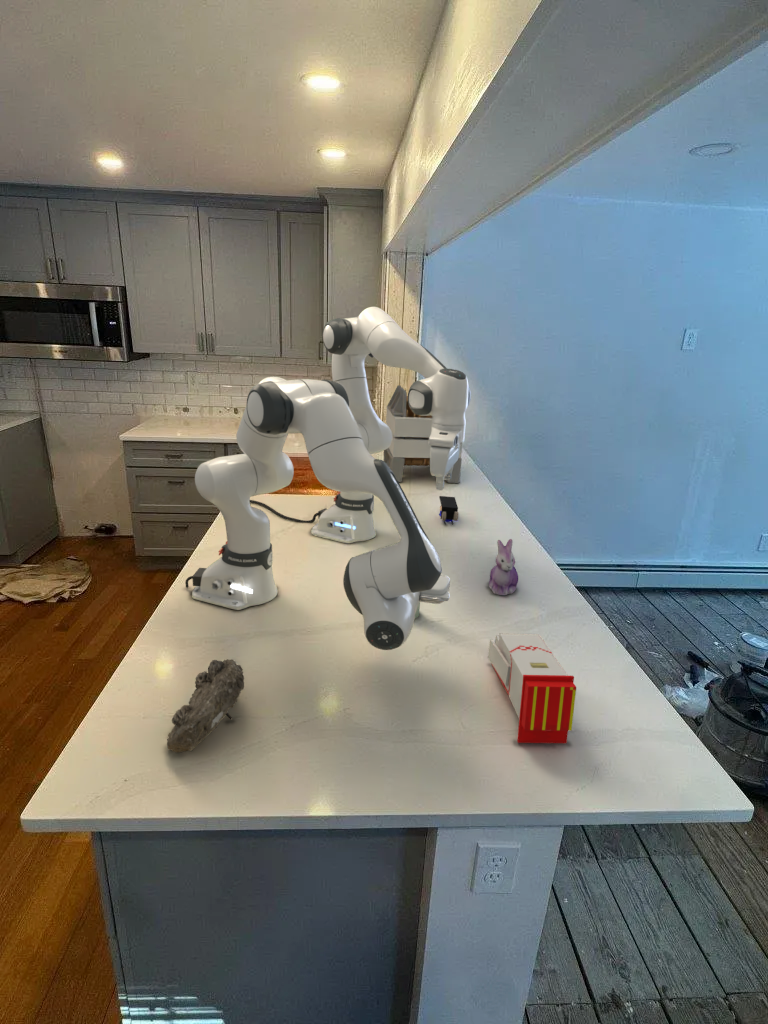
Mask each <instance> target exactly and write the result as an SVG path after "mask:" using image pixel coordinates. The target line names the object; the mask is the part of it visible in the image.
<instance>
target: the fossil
mask: <svg viewBox="0 0 768 1024" xmlns="http://www.w3.org/2000/svg"><path fill="white" fill-rule="evenodd" d="M243 670H244V669H243V667H242V665H240V664H237V662H236V661H235V660H234V659H232V658H231V659H227V658H226V659H224V660H223V661H222V660H217V659H212V660H211V661H210V663H209V665H208V666H207V671H201V672H199V673H198V674H197V675H196V676H195V680H194V684H195V685H194V687H195V689H194V690H193V693H192V694H191V697H190V698H189V700H188V704H184V705H182V706H181V707H180V709H177V710H176V711H175V713H174V715H173V716H172V718H171V723H172V724H173V727H172V730H171V731H170V732H168V734H167V738H166V741H167V742H166V745H167V749H168V750H169V751H173V752H174V753H176V754H178V753H182V752H188V751H189V752H192V751H193V750H195V748H196V747H197V746H199V744H200V743H201V742H203V741H204V740H205V739H206V738H207V737H208V736H209V735H210V734H211V733H212V732H214V730H215V729H217V727H218V726H219V724H220V722H221V721H222V720H223V719H224V718H225V716H226V717H227V719H229V720H233V717H232V715H230V714H229V710H230V709H231V708H234V706H235V704H236V703H237V702H238V699H239V697H240V695H241V693H242V691H243V690H245V689H244V688H245V675H244V671H243Z"/></svg>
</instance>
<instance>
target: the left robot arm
mask: <svg viewBox="0 0 768 1024" xmlns="http://www.w3.org/2000/svg"><path fill="white" fill-rule="evenodd" d="M246 397H247V398H246V405H245V408H244V410H243V414H242V417H241V419H240V422H239V426H238V428H237V431H236V434H235V435H236V436H235V437H236V438H235V439H236V443H237V445H238V448H239V449H240V451H241V452H242V453H238V454H231V455H224V456H217V457H215V458H212V459H209V460H207V461H204V462H201V463H200V464H199V465H198V466H197V469H196V470H195V475H194V485H195V488H196V491H197V492H198V494H199V495H200V496H201V497H202V498H203V499H204V500H205V501H207V502H209V503H211V505H214V506H215V507H216V508H217V509H218V510H219V512H220V513H221V516H222V517H223V520H224V524H225V525H224V526H225V532H226V541H225V544H223V545H222V546H221V548H220V549H219V550H218V556H221V557H219V558H218V559H217V560H215V561H214V562H212V563H211V564H210V565H208V566H207V567H198V569H197V570H196V571H195V573H194V574H193V575H190V576H188V577H187V578H186V579H185V583H184V584H185V588H187V589H188V588H189V581H190V580H192V586H193V587H194V588H193V589H192V593H191V597H192V599H193V600H196V601H201V602H205V603H208V604H211V605H212V604H213V605H216V606H220V607H222V608H223V607H224V608H228V609H232V610H235V611H240V610H243V609H246V608H248V607H253V606H258V605H262V604H266V603H268V602H271V601H272V600H273V599H275V598H276V597H277V595H278V593H279V590H278V587H277V584H276V581H275V577H274V572H273V562H274V556H273V555H274V553H273V545H272V543H271V521H270V518H269V516H268V514H267V513H266V512H264V511H263V510H261V509H260V508H257V507H254V506H251V502H250V500H251V497H256V496H260V495H266V494H271V493H275V492H278V491H280V490H282V489H285V488H286V487H288V486H290V485H291V483H292V481H293V478H294V474H295V470H294V463H293V462H292V460H291V458H290V457H289V455H288V454H287V453H285V452H284V451H283V450H284V446H285V443H286V442H287V441H286V440H287V439H288V435H291V434H292V435H293V434H294V435H297V434H301V435H302V437H303V440H304V445H305V448H306V453H307V456H308V459H309V463H310V466H311V469H312V471H313V474H314V476H315V479H316V480H317V481H318V482H319V483H320V484H321V485H322V486H324V487H326V488H327V489H329V490H331V491H335V492H348V493H367V494H372V495H373V496H374V497H376V498H378V499H379V500H380V501H381V502H382V504H383V506H384V508H385V509H386V512H387V514H388V516H389V517H390V520H391V521H392V524H393V525H394V527H395V530H396V531H397V534H398V535H399V541H398V542H396V543H393V544H390V545H386V546H384V547H380V548H377V549H373V550H369V551H367V552H364V553H361V554H358V555H354V556H351V558H350V559H349V560H348V561H347V564H346V566H345V570H344V573H343V577H342V579H343V590H344V593H345V595H346V597H347V600H348V601H349V603H350V604H351V606H352V607H353V608H354V609H355V610H356V611H357V613H359V614H360V615H361V616H362V620H363V631H364V636H365V639H366V641H367V642H368V643H369V644H370V645H371V646H372V647H374V648H376V649H378V650H383V651H390V650H394V649H397V648H400V647H401V646H403V645H404V644H405V643H406V641H407V640H408V639H409V636H410V634H411V633H412V630H413V626H414V623H415V619H416V618H415V613H416V611H417V608H418V604H419V602H420V603H427V604H435V605H436V604H437V605H439V604H442V603H444V602H448V601H449V600H450V596H451V594H450V586H451V578H450V576H448V575H446V574H442V573H443V567H442V562H441V558H440V555H439V553H438V551H437V549H436V548H435V546H434V545H433V543H432V542H431V540H430V538H429V537H428V535H427V534H426V532H425V530H424V528H423V527H422V524H421V523H420V520H419V519H418V517H417V514H416V513H415V511H414V509H413V507H412V505H411V503H410V500H409V499H408V497H407V496H406V493H405V491H404V490H403V488H402V486H401V484H400V482H398V481H397V479H396V477H395V475H394V474H393V472H392V470H391V469H390V467H389V466H388V465H387V464H386V463H385V462H384V459H378V458H375V457H374V456H372V454H370V453H369V452H368V451H367V449H366V447H365V445H364V443H363V440H362V437H361V434H360V431H359V428H358V425H357V423H356V421H355V418H354V416H353V414H352V412H351V410H350V408H349V399H348V395H347V393H346V391H345V389H344V387H343V386H342V385H341V384H339V383H337V382H335V381H333V380H330V379H311V378H296V379H285V378H283V377H279V376H267V377H265V378H262V379H261V380H260V381H259V382H258V383H257V384H255V385H254V386H252V388H251V389H250V391H248V395H247V396H246Z"/></svg>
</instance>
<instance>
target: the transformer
mask: <svg viewBox="0 0 768 1024" xmlns="http://www.w3.org/2000/svg"><path fill="white" fill-rule="evenodd" d="M385 414H386V415H385V424H387V425H388V426H389V428H390V430H391V433H392V442H391V445H390V446H389V448H387V449H386V450H384V451H383V461H384V462H385V463H386V464H387V465H388V466H389V468H390V469H391V470H392V472H393V474H394V475H395V477H396V479H397V481H398V482H399V483H402V482H403V475H404V469H405V466H406V467H407V466H411V467H412V466H413V467H415V466H416V467H417V466H418V467H430V448H431V445H429V437H430V434H431V427H432V416H431V415H430V416H421V415H416V414H415V413H414V412H413V411H412V410H411V409H410V407H409V404H408V393H407V390H406V389H404V388H403V387H402V385H399V384H398V385H397V386H396V388H395V390H394V392H393V394H392V395H391V398H390V400H389V402H388V404H387V405H386V413H385ZM463 443H464V442H462V443H460V446H459V458H458V460H457V462H456V463H455V464H454V465H453V470H452V475H451V479H450V480H449V481H448V480H445V481H446V482H447V483H449V484H455V483H456V484H459V483H461V472H462V461H463V460H462V453H463Z"/></svg>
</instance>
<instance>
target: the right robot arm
mask: <svg viewBox="0 0 768 1024" xmlns="http://www.w3.org/2000/svg"><path fill="white" fill-rule="evenodd" d="M322 342H323V346H324V348H325V349H326V351H327V352H329V353H330V354H331V378H332V381H335V382H337V383H339V384H341V385H342V386H343V387H344V389H345V391H346V393H347V395H348V399H349V408H350V410H351V412H352V414H353V416H354V418H355V421H356V423H357V425H358V428H359V431H360V434H361V437H362V440H363V443H364V445H365V447H366V449H367V451H368V452H369V453H370V454H371V455H375V454H379V453H381V452H384V450H386V449H387V448H389V446H390V445H391V442H392V433H391V430H390V428H389V426H388V425H387V423H386V422H384V421H382V419H381V418H380V417H379V416H378V414H377V413H376V410H375V409H374V407H373V404H372V402H371V398H370V391H369V385H368V380H367V379H368V378H367V373H366V368H365V367H366V366H365V360H366V358H367V356H369V357H370V358H374V359H375V360H376V361H377V362H378V363H380V364H382V365H384V366H386V367H390V368H391V367H392V368H398V369H404V370H409V371H413V372H416V373H418V374H420V375H421V376H423V378H422V379H418V380H415V381H413V382H412V384H411V385H410V386H409V389H408V393H407V396H408V404H409V407H410V409H411V410H412V411H413V412H414V413H415V414H416V415H421V416H430V415H431V416H432V427H431V434H430V437H429V445H431V448H430V466H429V472H430V476H432V477H435V483H436V485H435V488H436V490H437V491H443V490H444V488H445V481H446V480H448V481H449V480H450V479H451V475H452V470H453V465H454V464H455V463H456V462H457V460H458V458H459V446H460V443H462V442H463V443H464V442H465V439H466V438H465V437H466V427H467V420H466V412H467V409H468V407H469V406H470V403H471V401H472V392H471V388H470V385H469V380H468V376H467V374H466V373H464V372H463V371H462V370H459V369H453V368H448V367H446V366H445V364H444V363H442V362H441V361H440V360H439V359H438V358H437V357H436V356H435V355H434V354H433V353H431V351H430V350H429V349H427V348H426V347H424V346H423V345H421V344H420V343H418V341H416V340H415V339H414V338H412V337H411V336H410V335H409V334H408V333H406V331H404V329H402V328H401V326H400V325H399V324H398V323H397V322H396V321H395V319H394V318H392V316H391V315H390V314H388V313H387V312H386V311H384V309H382V308H380V307H378V306H369V307H367V308H365V309H363V310H362V311H361V312H360V313H359V314H358V316H355V317H346V318H344V317H343V318H340V317H337V318H333V319H331V320H328V321H327V322H326V323H325V325H324V326H323V329H322ZM463 443H462V444H463ZM333 502H334V504H333V505H331V506H329V507H328V508H323V509H320V510H318V511H317V512H316V513H314V514H313V516H312V519H310V520H302V519H299V518H294V517H290V516H287V515H284V514H282V513H280V512H278V511H277V510H276V509H274V508H273V507H271V506H269V505H268V504H266V503H264V502H261V501H259V500H258V501H257V500H254V499H250V504H251V503H252V504H256V505H260V506H262V507H264V508H266V509H267V510H269V511H271V512H272V513H273V514H275V515H276V516H277V517H278V516H279V517H281V518H283V519H285V520H288V521H292V522H296V523H302V524H303V523H305V524H311V523H314V522H315V521H316V519H317V518H318V521H317V523H315V524H314V525H313V526H312V528H311V530H310V533H311V536H315V537H319V538H323V539H326V540H330V541H336V542H339V543H343V544H352V543H357V542H365V541H368V540H372V539H373V538H375V537H376V535H377V532H376V528H375V523H374V513H373V512H374V509H375V495H372V494H367V493H348V492H339V491H337V494H336V495H335V496H334V497H333ZM316 517H317V518H316Z"/></svg>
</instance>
